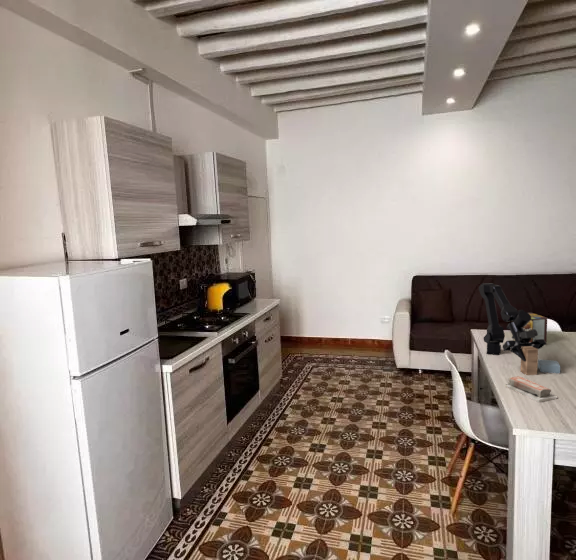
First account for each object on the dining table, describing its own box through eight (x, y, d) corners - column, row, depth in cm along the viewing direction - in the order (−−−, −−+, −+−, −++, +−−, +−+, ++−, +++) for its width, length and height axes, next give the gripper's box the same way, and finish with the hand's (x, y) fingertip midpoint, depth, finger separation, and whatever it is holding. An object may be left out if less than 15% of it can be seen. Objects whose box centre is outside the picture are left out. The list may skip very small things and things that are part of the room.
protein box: (530, 336, 261) (531, 312, 259) (546, 343, 246) (547, 317, 244) (514, 337, 261) (515, 313, 259) (529, 344, 246) (530, 318, 243)
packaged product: (504, 377, 186) (522, 374, 189) (503, 387, 187) (521, 384, 190) (539, 392, 169) (558, 388, 172) (538, 403, 170) (557, 399, 172)
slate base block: (540, 372, 202) (540, 364, 202) (537, 367, 210) (538, 359, 209) (559, 374, 199) (560, 366, 199) (556, 368, 207) (557, 360, 206)
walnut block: (520, 371, 204) (521, 346, 202) (530, 371, 204) (531, 346, 202) (526, 375, 199) (527, 349, 197) (537, 374, 199) (538, 349, 197)
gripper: (506, 324, 202) (519, 353, 192) (544, 322, 202) (558, 351, 193) (497, 336, 211) (509, 364, 201) (533, 334, 211) (546, 362, 202)
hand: (530, 360), depth 199 cm, fingers open, 5 cm apart
